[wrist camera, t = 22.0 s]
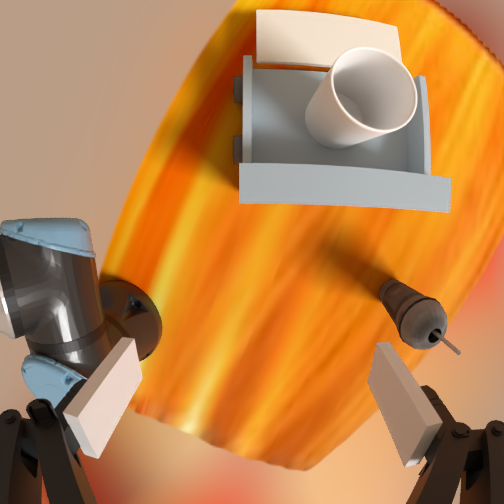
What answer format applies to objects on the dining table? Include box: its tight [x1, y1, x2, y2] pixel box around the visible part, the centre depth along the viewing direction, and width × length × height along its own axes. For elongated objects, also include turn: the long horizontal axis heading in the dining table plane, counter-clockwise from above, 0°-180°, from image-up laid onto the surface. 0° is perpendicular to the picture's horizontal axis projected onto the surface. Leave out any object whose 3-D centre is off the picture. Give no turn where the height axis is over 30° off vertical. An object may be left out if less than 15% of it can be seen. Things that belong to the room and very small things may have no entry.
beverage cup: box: [379, 280, 461, 355], centre depth 36 cm, size 7×7×20 cm
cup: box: [305, 46, 417, 149], centre depth 28 cm, size 8×8×16 cm
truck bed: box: [233, 55, 451, 213], centre depth 34 cm, size 27×18×14 cm, turn 90°
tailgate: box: [256, 10, 402, 68], centre depth 33 cm, size 21×1×9 cm
